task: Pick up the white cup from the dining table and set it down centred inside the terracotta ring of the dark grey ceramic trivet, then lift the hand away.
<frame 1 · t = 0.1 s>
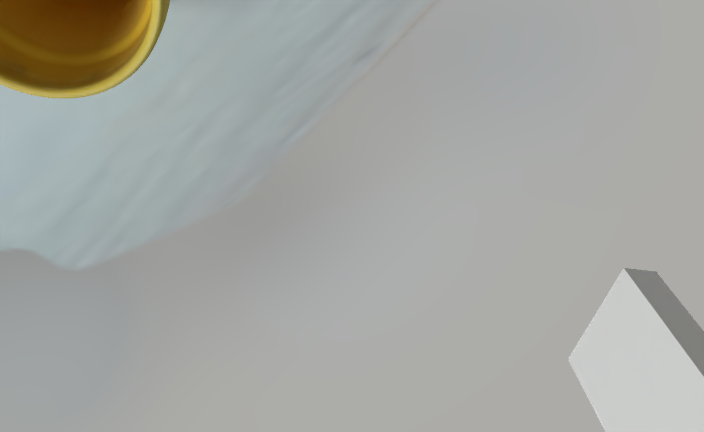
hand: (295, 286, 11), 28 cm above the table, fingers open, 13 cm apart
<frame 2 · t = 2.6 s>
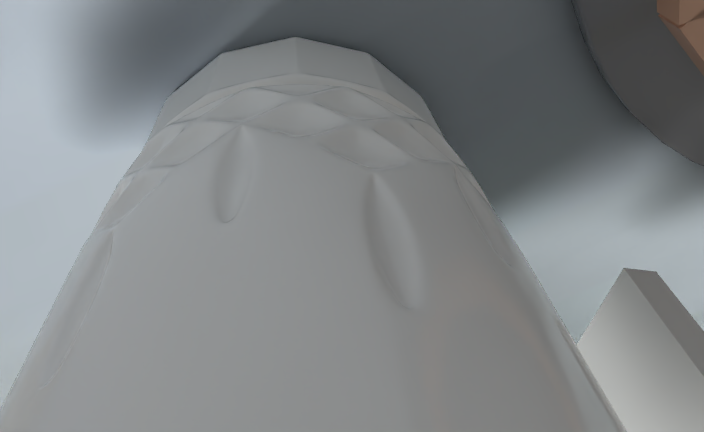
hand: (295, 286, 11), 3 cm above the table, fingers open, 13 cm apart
white cup: (298, 172, 14), on the table
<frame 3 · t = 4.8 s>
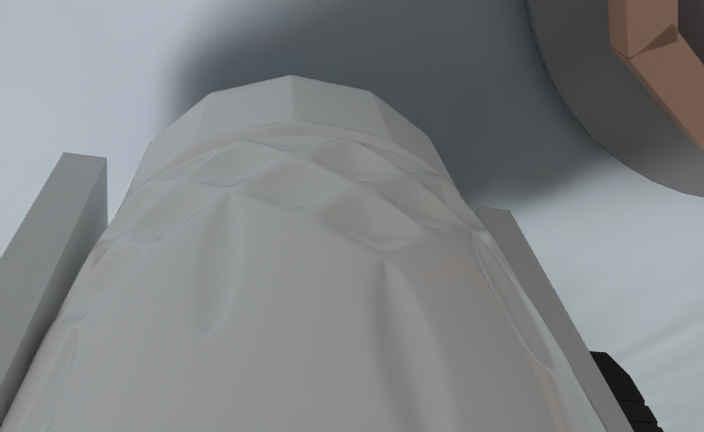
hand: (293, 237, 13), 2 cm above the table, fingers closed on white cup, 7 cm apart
white cup: (294, 216, 13), point 2 cm above the table, touching gripper
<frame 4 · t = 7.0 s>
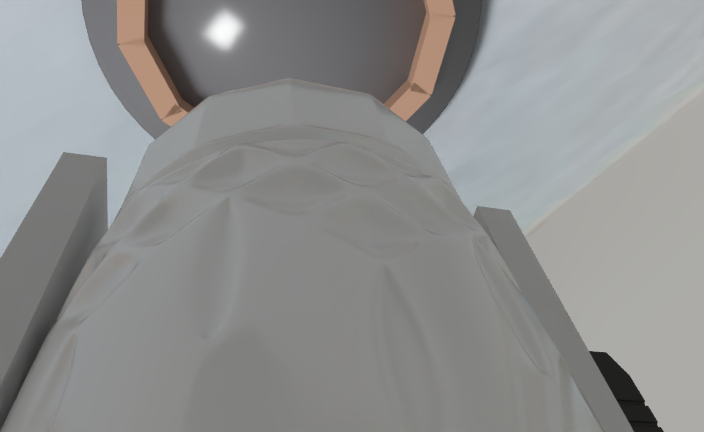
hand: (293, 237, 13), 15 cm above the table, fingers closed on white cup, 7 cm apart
trivet: (288, 19, 25), on the table
white cup: (294, 218, 13), point 14 cm above the table, touching gripper
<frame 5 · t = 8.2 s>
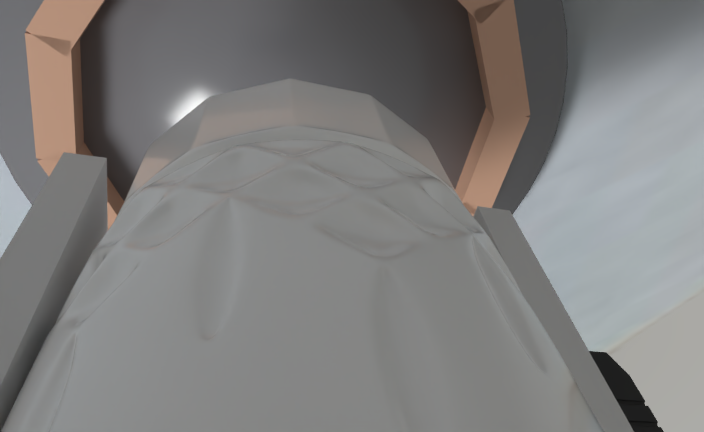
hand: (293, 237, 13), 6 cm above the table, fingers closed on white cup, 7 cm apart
trivet: (288, 114, 17), on the table
white cup: (294, 218, 13), point 5 cm above the table, touching gripper
when the fingers open (3 cm above the table, at t = 9.1 s): white cup drops 2 cm, resting on trivet.
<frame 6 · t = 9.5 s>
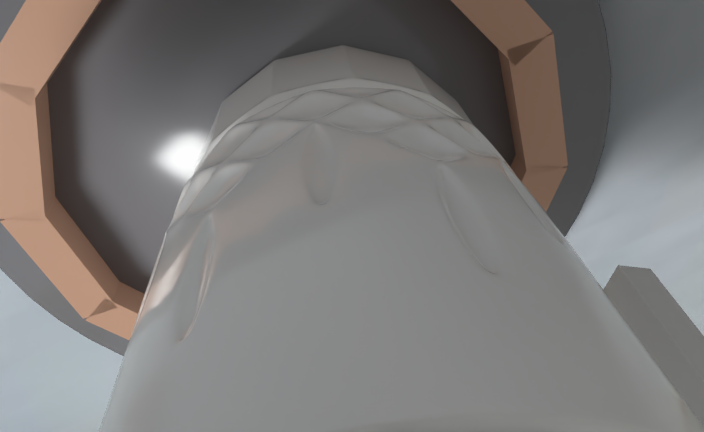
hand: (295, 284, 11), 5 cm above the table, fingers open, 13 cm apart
trivet: (290, 162, 15), on the table
white cup: (337, 171, 15), resting on trivet
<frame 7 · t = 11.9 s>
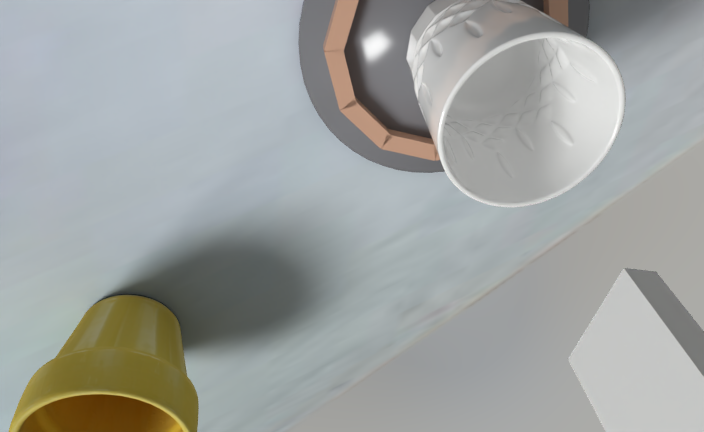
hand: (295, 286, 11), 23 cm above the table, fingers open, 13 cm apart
trivet: (443, 42, 33), on the table
white cup: (465, 47, 33), resting on trivet
plant pot: (135, 326, 42), on the table
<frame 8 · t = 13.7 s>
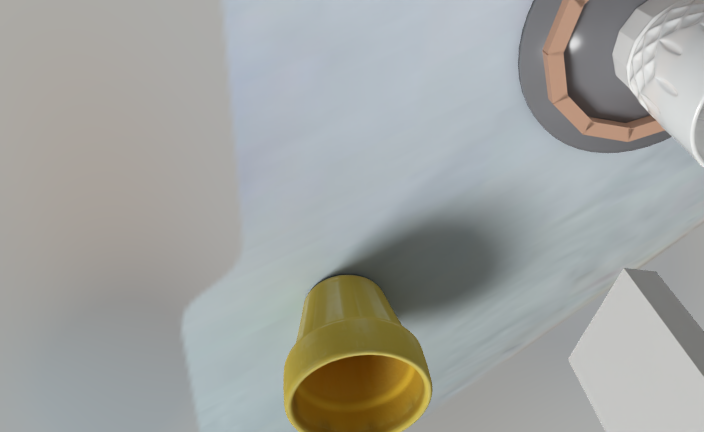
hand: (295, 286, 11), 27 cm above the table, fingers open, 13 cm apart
trivet: (641, 38, 38), on the table
white cup: (662, 41, 38), resting on trivet
plant pot: (345, 302, 49), on the table
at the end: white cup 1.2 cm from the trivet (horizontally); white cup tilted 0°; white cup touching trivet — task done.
